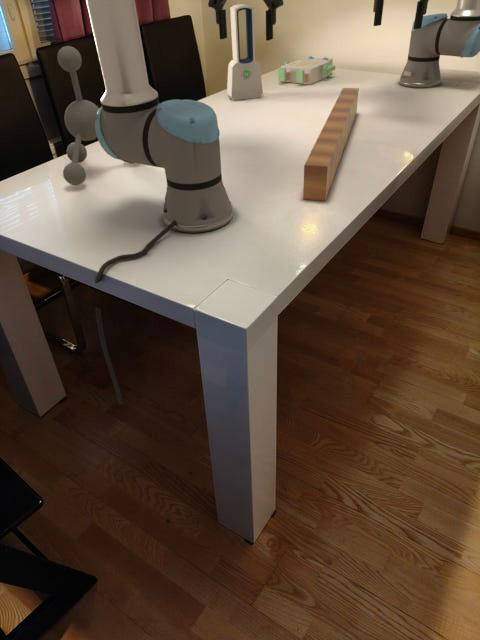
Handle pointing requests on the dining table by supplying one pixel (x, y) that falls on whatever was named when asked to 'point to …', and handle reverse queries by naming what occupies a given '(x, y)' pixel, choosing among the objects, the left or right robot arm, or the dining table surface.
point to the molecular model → (77, 118)
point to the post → (330, 146)
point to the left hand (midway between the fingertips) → (246, 39)
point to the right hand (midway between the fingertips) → (396, 27)
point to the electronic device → (243, 71)
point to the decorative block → (306, 70)
